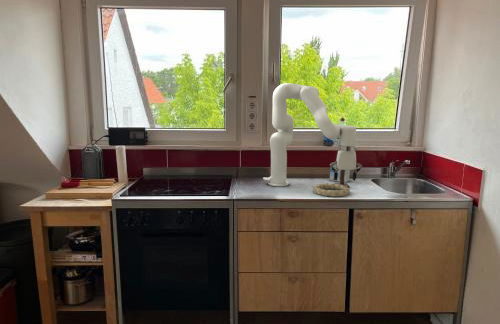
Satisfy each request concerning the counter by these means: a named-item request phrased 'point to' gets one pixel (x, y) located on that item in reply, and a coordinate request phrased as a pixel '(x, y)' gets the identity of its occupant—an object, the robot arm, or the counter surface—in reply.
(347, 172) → the light bulb box
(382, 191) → the counter surface
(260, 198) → the counter surface
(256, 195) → the counter surface
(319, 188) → the woven wreath ring
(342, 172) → the brown peg stand
